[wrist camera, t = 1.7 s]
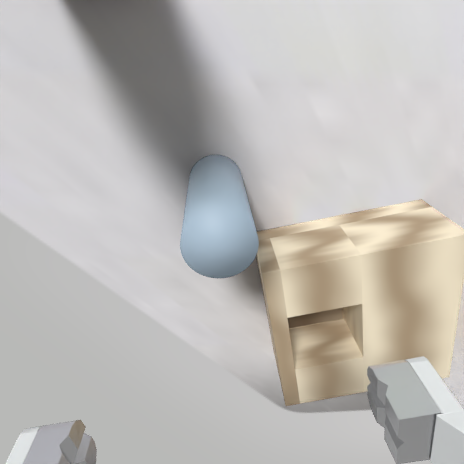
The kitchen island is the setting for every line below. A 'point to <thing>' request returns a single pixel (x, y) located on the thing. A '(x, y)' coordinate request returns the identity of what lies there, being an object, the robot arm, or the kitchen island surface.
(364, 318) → the bore block
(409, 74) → the kitchen island surface
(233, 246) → the pin
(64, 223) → the kitchen island surface
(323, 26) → the kitchen island surface
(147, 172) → the kitchen island surface
